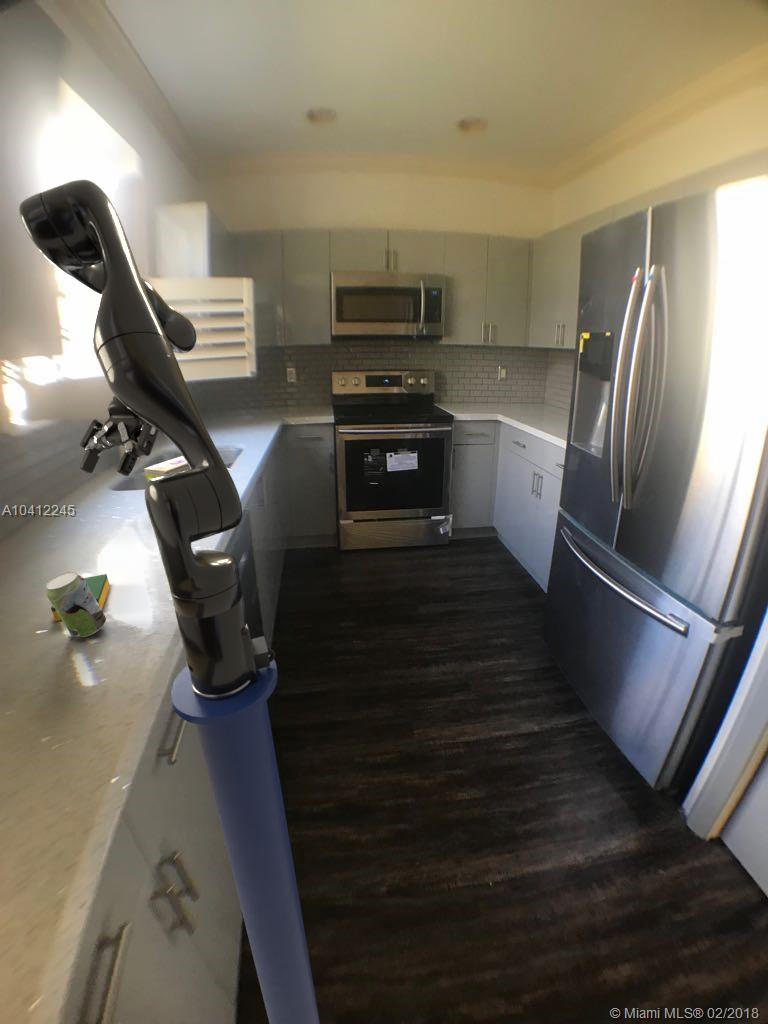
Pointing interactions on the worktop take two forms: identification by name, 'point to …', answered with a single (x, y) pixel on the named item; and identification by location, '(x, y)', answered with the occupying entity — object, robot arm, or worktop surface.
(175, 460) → the tea box
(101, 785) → the worktop surface
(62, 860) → the worktop surface
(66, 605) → the beverage can
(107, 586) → the sponge
